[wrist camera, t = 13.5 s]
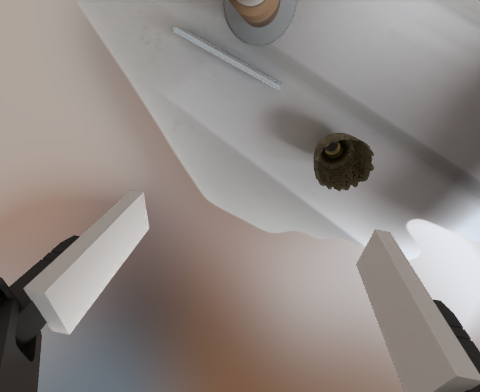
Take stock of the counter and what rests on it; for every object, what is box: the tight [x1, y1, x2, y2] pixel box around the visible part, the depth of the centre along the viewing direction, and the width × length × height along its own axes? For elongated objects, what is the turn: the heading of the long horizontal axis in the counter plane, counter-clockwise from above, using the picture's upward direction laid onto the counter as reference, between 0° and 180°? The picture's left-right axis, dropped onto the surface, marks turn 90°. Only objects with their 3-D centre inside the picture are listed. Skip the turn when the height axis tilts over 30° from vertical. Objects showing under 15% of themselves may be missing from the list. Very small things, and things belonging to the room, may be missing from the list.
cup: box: [314, 133, 374, 191], centre depth 33 cm, size 8×7×8 cm
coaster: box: [224, 0, 297, 45], centre depth 28 cm, size 9×9×1 cm
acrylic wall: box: [173, 26, 281, 91], centre depth 30 cm, size 15×1×4 cm, turn 64°
